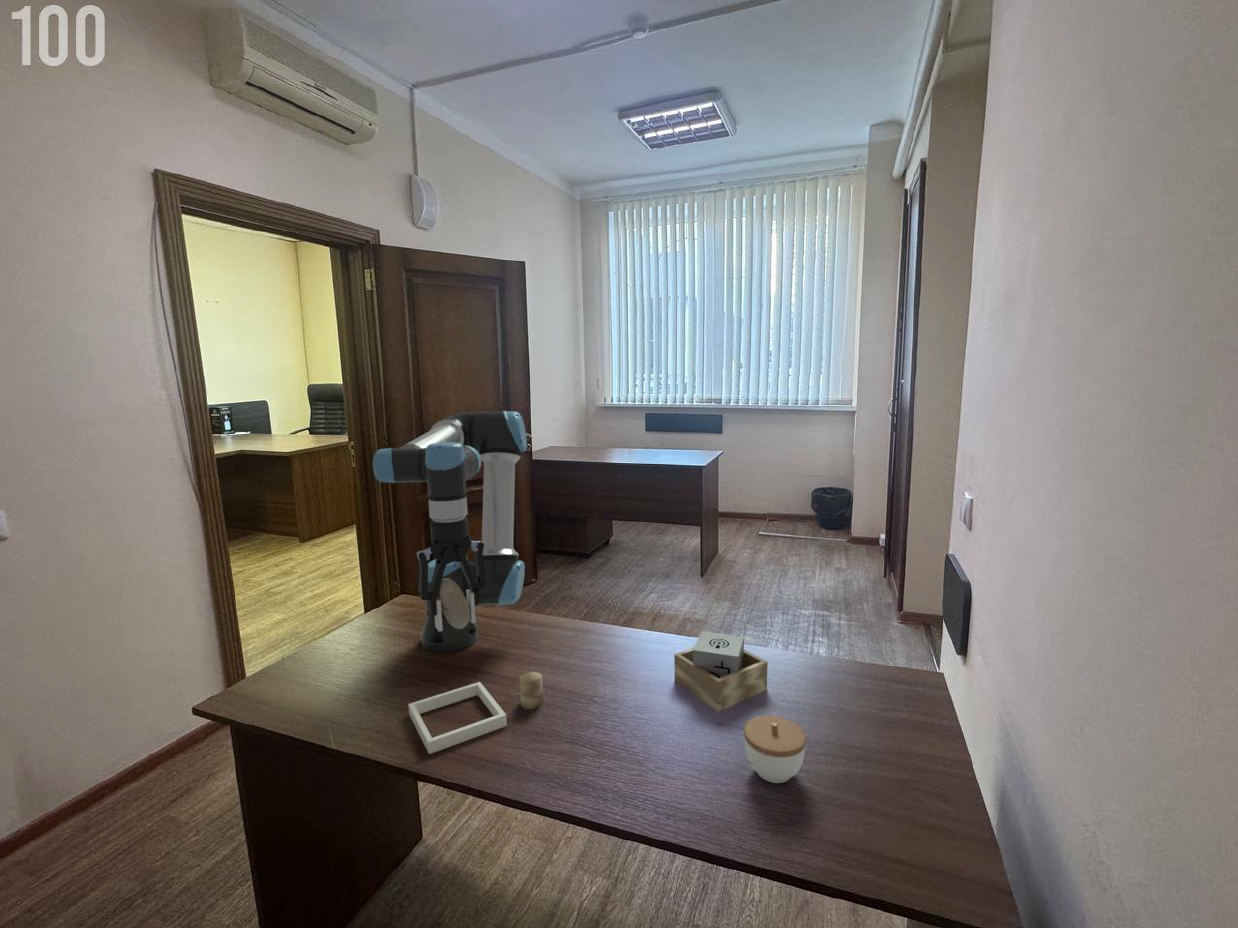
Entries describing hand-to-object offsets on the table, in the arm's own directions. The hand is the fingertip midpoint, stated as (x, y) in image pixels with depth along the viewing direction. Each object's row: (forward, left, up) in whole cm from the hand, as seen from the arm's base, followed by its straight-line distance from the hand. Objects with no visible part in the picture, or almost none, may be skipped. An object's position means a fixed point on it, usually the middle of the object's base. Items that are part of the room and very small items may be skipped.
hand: (455, 624), depth 120 cm
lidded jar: (-42, +50, -21) cm, 69 cm away
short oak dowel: (-15, +4, -21) cm, 26 cm away
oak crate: (-54, +23, -21) cm, 62 cm away
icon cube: (-53, +23, -20) cm, 61 cm away
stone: (0, 0, -2) cm, 2 cm away
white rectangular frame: (+1, +1, -21) cm, 21 cm away
